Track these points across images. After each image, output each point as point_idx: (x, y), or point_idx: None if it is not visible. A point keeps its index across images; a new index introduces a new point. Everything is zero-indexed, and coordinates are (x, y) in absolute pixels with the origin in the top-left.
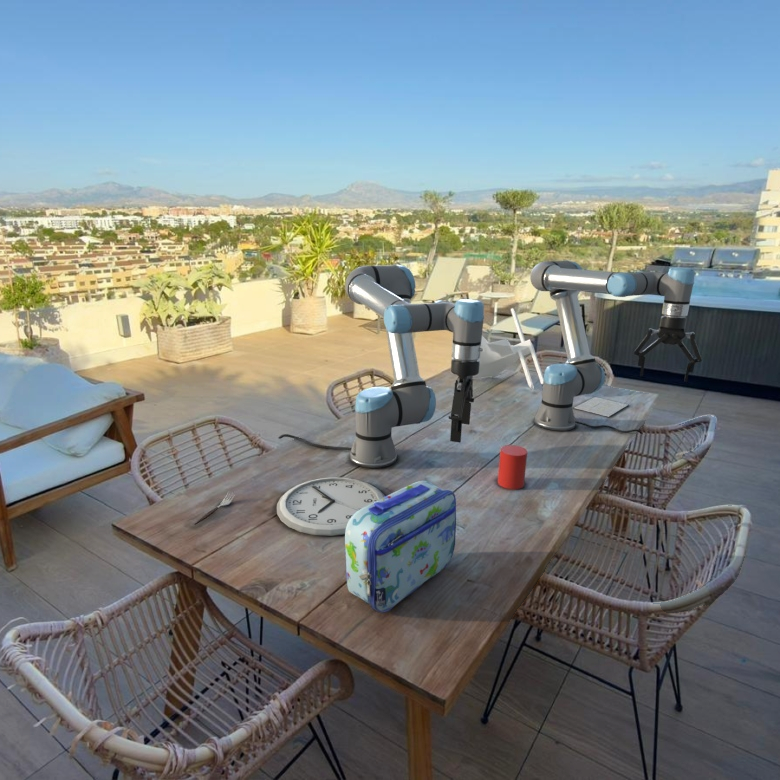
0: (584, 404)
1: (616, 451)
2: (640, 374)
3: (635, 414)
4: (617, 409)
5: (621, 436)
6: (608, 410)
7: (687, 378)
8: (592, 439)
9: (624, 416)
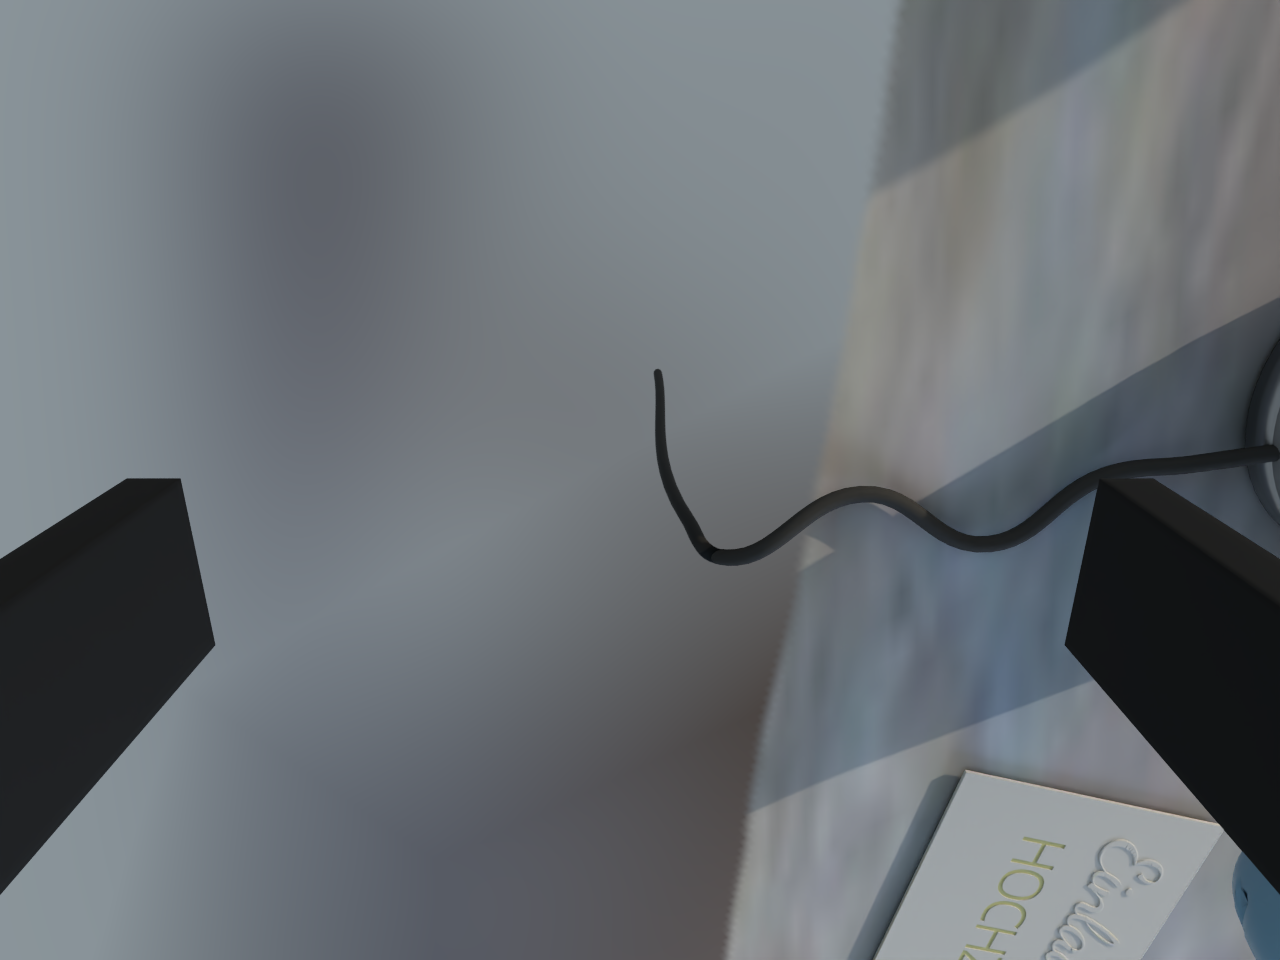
0: (1140, 921)
1: (904, 8)
2: (1161, 496)
3: (779, 905)
4: (904, 929)
5: (867, 410)
6: (968, 884)
7: (69, 515)
8: (1105, 202)
9: (852, 835)
